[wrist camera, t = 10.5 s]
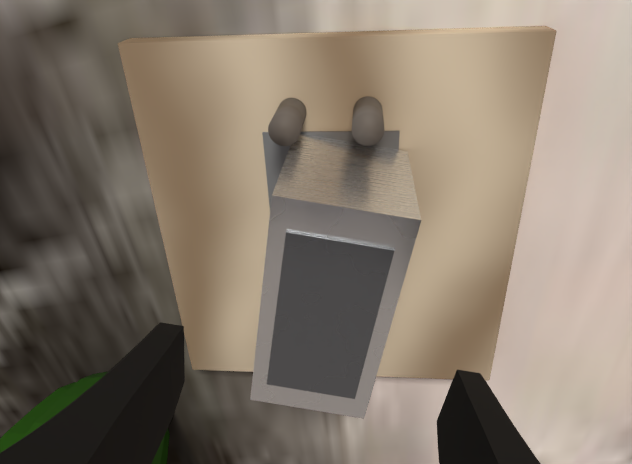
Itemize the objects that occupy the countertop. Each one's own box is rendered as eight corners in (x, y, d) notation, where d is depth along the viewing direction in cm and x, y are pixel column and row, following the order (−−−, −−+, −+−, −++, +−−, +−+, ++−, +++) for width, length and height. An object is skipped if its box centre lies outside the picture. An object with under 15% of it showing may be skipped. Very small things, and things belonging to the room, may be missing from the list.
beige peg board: (198, 354, 25) (179, 402, 22) (130, 38, 17) (88, 54, 15) (484, 364, 23) (499, 416, 21) (546, 25, 16) (581, 41, 13)
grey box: (273, 307, 21) (249, 401, 17) (295, 132, 17) (271, 197, 13) (364, 323, 21) (363, 421, 17) (407, 151, 17) (421, 222, 13)
